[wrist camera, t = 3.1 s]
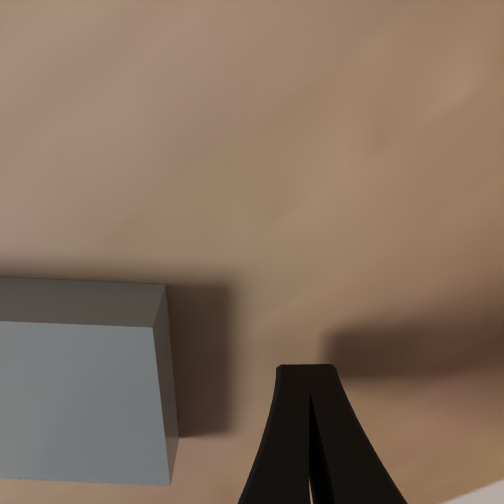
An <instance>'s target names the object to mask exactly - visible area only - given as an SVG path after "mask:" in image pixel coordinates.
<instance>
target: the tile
mask: <svg viewBox="0 0 504 504" xmlns="http://www.w3.org/2000/svg"><path fill="white" fill-rule="evenodd" d="M178 441H179V432H178V421H177V409H176V398H175V386H174V375H173V364H172V352H171V341H170V329H169V318H168V306H167V295H166V284H152V283H129V282H106V281H83V280H60V279H38V278H15V277H0V478H3V479H26V480H49V481H72V482H95V483H118V484H141V485H164V486H171V480H172V474H173V469H174V463H175V458H176V452H177V446H178Z"/></svg>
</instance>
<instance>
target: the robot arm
mask: <svg viewBox="0 0 504 504" xmlns="http://www.w3.org/2000/svg"><path fill="white" fill-rule="evenodd" d="M309 480H310V486H311V493H312V499H313V504H407V502H406V501H405V499H404V498H403V496H402V494H401V493H400V491H399V490H398V488H397V487H396V485H395V484H394V482H393V480H392V479H391V477H390V476H389V474H388V472H387V471H386V469H385V467H384V466H383V464H382V462H381V461H380V459H379V457H378V456H377V454H376V452H375V451H374V449H373V447H372V445H371V443H370V441H369V440H368V438H367V436H366V434H365V432H364V430H363V429H362V427H361V425H360V423H359V421H358V419H357V417H356V415H355V413H354V411H353V409H352V407H351V405H350V402H349V400H348V398H347V396H346V394H345V391H344V389H343V387H342V384H341V382H340V379H339V376H338V374H337V371H336V368H335V367H334V366H333V365H332V364H301V365H280V366H278V367H277V368H276V382H275V389H274V395H273V400H272V404H271V408H270V413H269V416H268V420H267V423H266V427H265V430H264V433H263V437H262V440H261V443H260V447H259V449H258V452H257V455H256V458H255V460H254V463H253V466H252V469H251V471H250V474H249V477H248V480H247V482H246V485H245V487H244V490H243V492H242V494H241V497H240V499H239V502H238V504H311V502H310V491H309Z"/></svg>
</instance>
